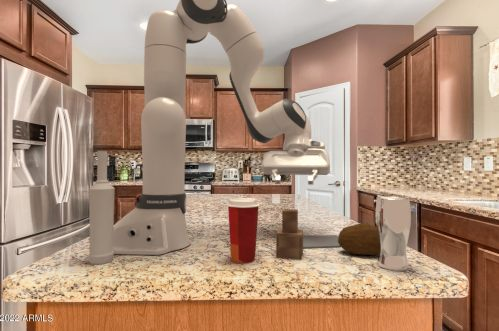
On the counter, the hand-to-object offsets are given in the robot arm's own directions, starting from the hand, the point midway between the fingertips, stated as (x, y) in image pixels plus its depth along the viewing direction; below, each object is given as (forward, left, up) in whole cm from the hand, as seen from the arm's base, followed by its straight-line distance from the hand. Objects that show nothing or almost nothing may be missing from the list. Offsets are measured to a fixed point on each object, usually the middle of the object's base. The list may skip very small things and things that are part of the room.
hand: (293, 182), depth 83 cm
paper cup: (-16, -13, -17) cm, 27 cm away
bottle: (-48, -10, -17) cm, 52 cm away
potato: (+14, -12, -17) cm, 26 cm away
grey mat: (+8, 0, -17) cm, 19 cm away
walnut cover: (-4, -11, -17) cm, 21 cm away
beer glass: (+16, -22, -17) cm, 32 cm away
